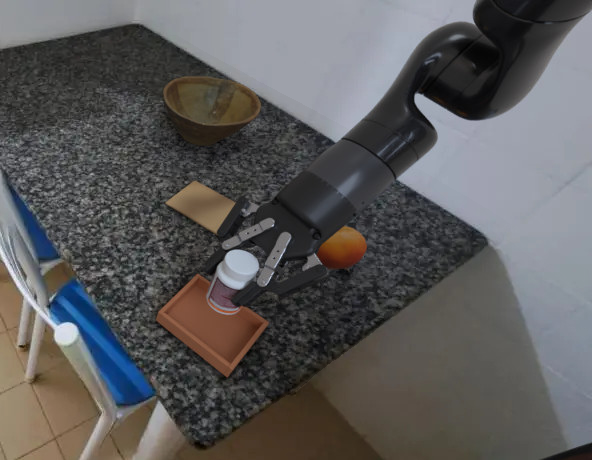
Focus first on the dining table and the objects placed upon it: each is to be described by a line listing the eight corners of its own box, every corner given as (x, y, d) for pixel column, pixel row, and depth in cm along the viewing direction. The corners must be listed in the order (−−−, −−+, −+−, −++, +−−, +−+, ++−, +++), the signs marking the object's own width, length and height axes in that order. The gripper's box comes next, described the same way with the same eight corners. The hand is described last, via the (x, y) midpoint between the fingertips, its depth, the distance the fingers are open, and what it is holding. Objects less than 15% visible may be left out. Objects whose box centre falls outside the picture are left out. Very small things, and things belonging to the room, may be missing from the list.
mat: (246, 210, 76) (246, 208, 75) (218, 236, 71) (218, 234, 71) (194, 181, 82) (194, 180, 81) (165, 203, 77) (165, 202, 76)
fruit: (332, 284, 62) (336, 236, 60) (296, 267, 69) (299, 224, 67) (376, 276, 63) (381, 229, 61) (336, 261, 71) (340, 218, 68)
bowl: (264, 133, 95) (280, 94, 88) (218, 176, 83) (232, 135, 76) (186, 102, 105) (195, 65, 98) (135, 137, 93) (141, 97, 86)
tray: (263, 330, 58) (269, 322, 56) (227, 377, 53) (232, 370, 51) (194, 282, 64) (197, 273, 62) (155, 320, 59) (158, 311, 57)
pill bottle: (245, 316, 52) (268, 277, 46) (209, 315, 52) (227, 276, 46) (236, 286, 55) (256, 247, 49) (202, 286, 55) (218, 246, 49)
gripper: (276, 143, 46) (174, 242, 52) (387, 219, 37) (249, 331, 43) (291, 168, 52) (197, 256, 57) (391, 240, 43) (269, 336, 48)
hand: (220, 287), depth 50 cm, fingers closed on pill bottle, 4 cm apart
